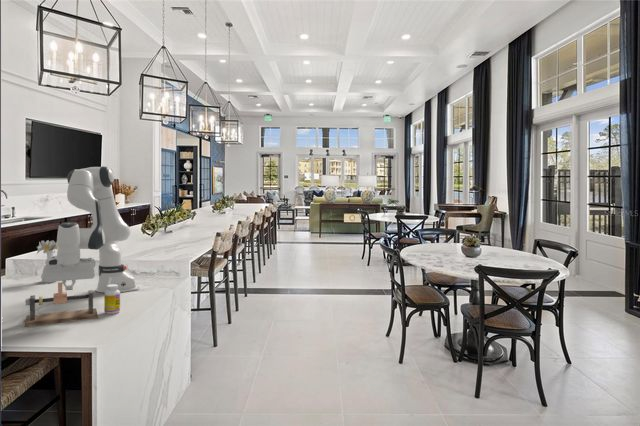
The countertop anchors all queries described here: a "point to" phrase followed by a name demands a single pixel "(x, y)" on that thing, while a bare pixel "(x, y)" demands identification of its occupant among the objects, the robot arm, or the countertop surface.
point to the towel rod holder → (60, 314)
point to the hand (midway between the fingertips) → (69, 289)
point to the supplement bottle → (112, 299)
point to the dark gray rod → (53, 299)
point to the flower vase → (48, 249)
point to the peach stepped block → (60, 295)
